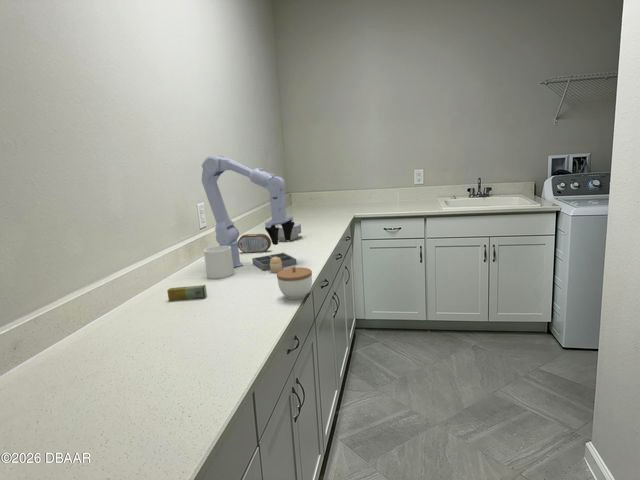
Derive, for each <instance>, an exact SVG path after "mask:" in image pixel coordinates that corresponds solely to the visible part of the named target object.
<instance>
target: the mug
mask: <svg viewBox="0 0 640 480" xmlns="http://www.w3.org/2000/svg"><path fill="white" fill-rule="evenodd" d="M203 256H204V263H205V270H206V277H207V279H210V278H211V280H220V279H225V278H226V279H227V278H230V277H231V276H233V275H234V273H235V269H234V268H235V267H233V259H232V251H231V247H230V246H220V245H216V246H210V247H207V248H204V249H203Z"/></svg>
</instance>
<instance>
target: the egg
mask: <svg viewBox="0 0 640 480" xmlns="http://www.w3.org/2000/svg"><path fill="white" fill-rule="evenodd" d="M270 269H271V270H270V273H271V274H277V273H278V272H279V271H281V270H283V267H282V261H281V259H280V258H279V257H276V256H275V257H272V258H271V260H270Z"/></svg>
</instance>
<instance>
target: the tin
mask: <svg viewBox="0 0 640 480" xmlns="http://www.w3.org/2000/svg"><path fill="white" fill-rule="evenodd" d="M239 237H240V238H238V239H237V242H238V249H239V250H240V251H241V252H242V253H244V254H253V253H254V254H255V253H256V254H257V253H265V252H267V251H269V249H270V248H271V245H272V240H271V238H270V236H268V235H266V234H265V233H251V234H250V233H247V234H243V235H241V236H239Z"/></svg>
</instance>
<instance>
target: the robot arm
mask: <svg viewBox="0 0 640 480" xmlns="http://www.w3.org/2000/svg"><path fill="white" fill-rule="evenodd" d="M201 167H202V175H201V184H202V186H203V189H204V192H205V194H206V198H207V200H208V203H209V207H210V209H211V212H212V215H213V217H214V220H215V227H214V230H215V233H216V234H215V240H216V242H217V243H218V245H219V246H230V247H231V251H232V259H233V267H234V268H235V267H241V266H242V267H243V266H244V264H243V262H241V259H240V251H239V250H240V249H239V247H238V240H239V237H240V231H239V229H238V228H237V227H236V226H235V223H234V222H233V221H232V220H231V219H230V217H229V214H228V211H227V207H226V206H225V203H224V200H223V197H222V193H221V191H220V190H221V189H220V187H219V184H218V180H219V178H220V177H221V175H222V174H223V173H224V172H225V171H232V172H234V173H237V174H240V175H242V176H245V177H247V178H249V180H250V182H251V183H254V184H256V185H258V186H260V187H263V188H265V189H266V190H267V191H268V193H269V203H270V211H271V220H269V221H266V222H265V227H264V228H265V229H264V230H265V231H266V232H267V234H268V235H269V236H268V237H269V238H270V240H271V244H272V245H276V246H277V245H279V240H278V231H279V227H275V226H276V225H279V224H281V225H282V228H283V231H284V237H285V240H290V239H291V232H292V229H293V226H294V222H295V221H294V215H292V216H291V215H288V216H287V208H286V196H285V187H286V181H285V179H284V178H283V177H281V176H280V175H275V174H274V173H269V172H267V171H264V168H261V167H259V168H258V167H257V168H253V169H251V168H250V167H248V166H246V165H244V164H241V163H240V162H238V161H236V160H234V159H232V158H230V157H225V156H223V155H217V156H215V155H214V156H212V155H211V156H207V157H206V158H205V159H204V161H203V162H202V164H201Z"/></svg>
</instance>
